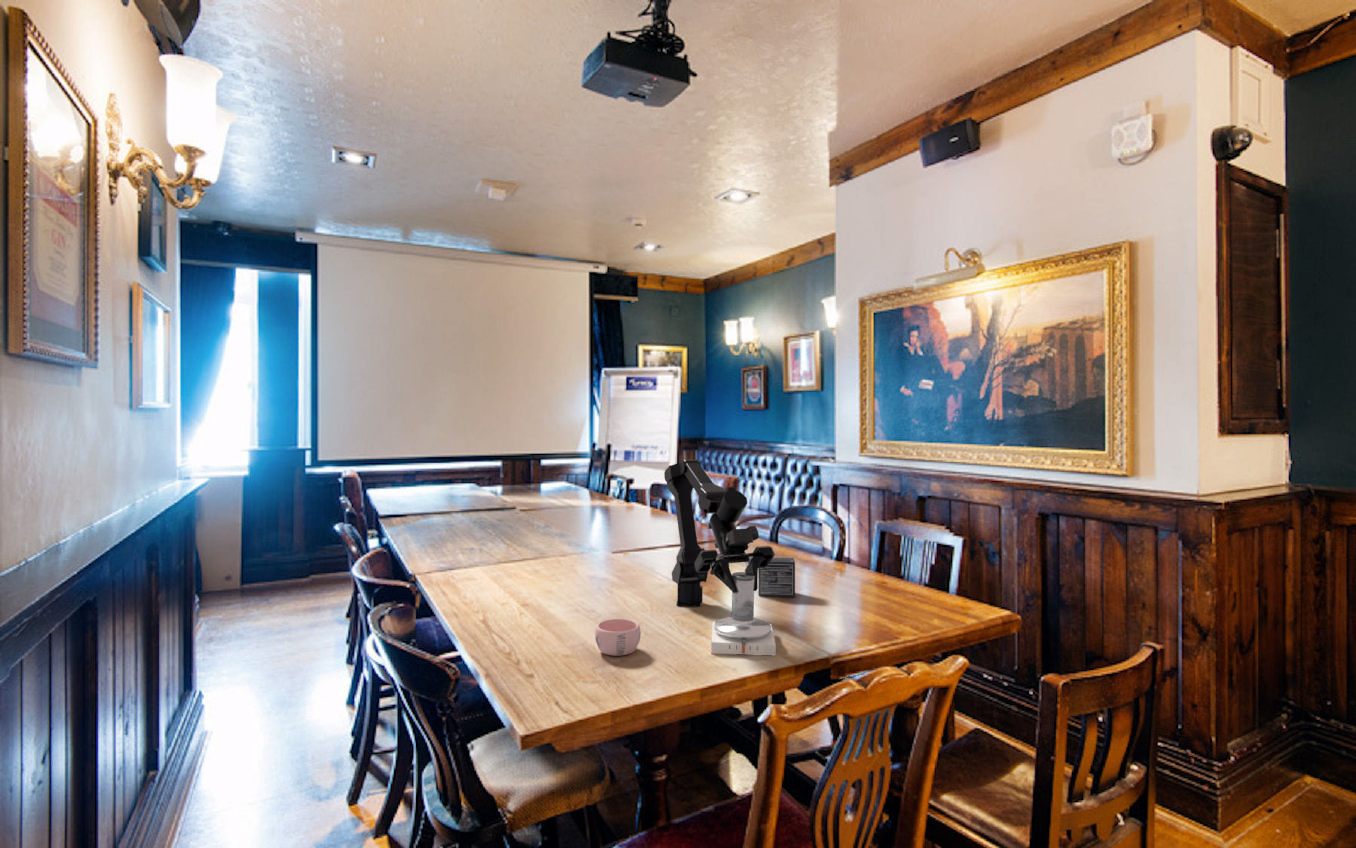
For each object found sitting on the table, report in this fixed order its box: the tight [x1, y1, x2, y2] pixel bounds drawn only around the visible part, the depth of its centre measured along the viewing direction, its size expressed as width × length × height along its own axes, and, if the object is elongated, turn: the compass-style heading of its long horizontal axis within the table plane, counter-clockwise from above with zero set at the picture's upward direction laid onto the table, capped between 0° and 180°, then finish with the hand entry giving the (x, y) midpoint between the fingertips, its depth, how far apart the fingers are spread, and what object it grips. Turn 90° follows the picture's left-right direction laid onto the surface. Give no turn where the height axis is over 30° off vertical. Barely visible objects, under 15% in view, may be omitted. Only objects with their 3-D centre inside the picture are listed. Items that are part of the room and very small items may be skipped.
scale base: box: [710, 621, 777, 656], centre depth 149 cm, size 14×14×2 cm
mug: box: [594, 618, 641, 657], centre depth 144 cm, size 12×10×6 cm
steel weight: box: [731, 571, 755, 622], centre depth 149 cm, size 5×5×10 cm
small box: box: [757, 556, 796, 599], centre depth 190 cm, size 11×6×10 cm, turn 84°
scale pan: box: [714, 616, 772, 653], centre depth 148 cm, size 13×14×4 cm
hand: (745, 591), depth 147 cm, fingers closed on steel weight, 5 cm apart
